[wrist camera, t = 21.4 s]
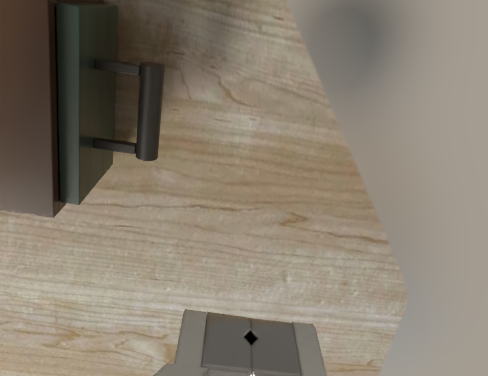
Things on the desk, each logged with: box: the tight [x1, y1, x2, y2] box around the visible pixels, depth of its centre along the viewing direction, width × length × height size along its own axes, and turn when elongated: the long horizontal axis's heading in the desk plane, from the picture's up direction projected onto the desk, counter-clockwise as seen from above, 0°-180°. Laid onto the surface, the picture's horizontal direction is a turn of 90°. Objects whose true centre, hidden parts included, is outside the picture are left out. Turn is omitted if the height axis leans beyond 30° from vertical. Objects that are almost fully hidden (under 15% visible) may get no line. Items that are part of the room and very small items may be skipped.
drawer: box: [54, 2, 165, 205], centre depth 27 cm, size 18×11×7 cm, turn 81°
